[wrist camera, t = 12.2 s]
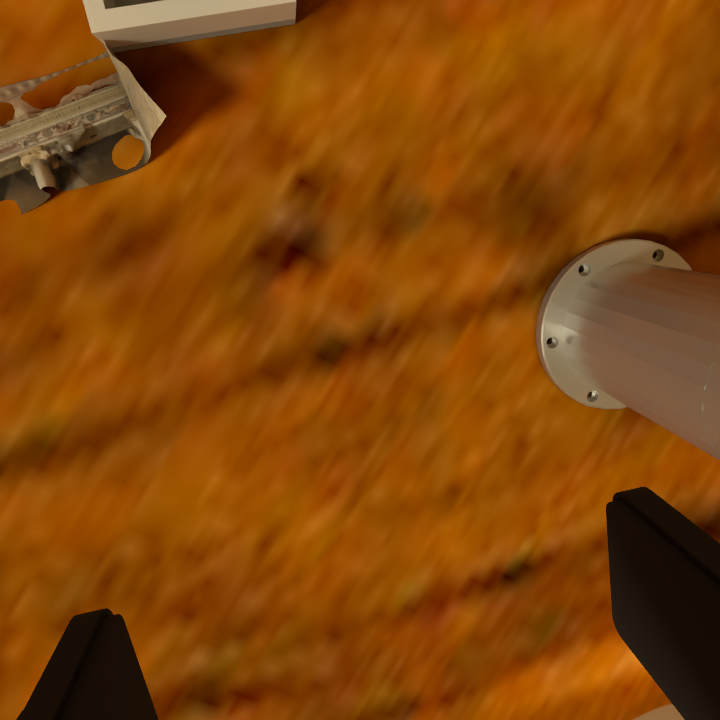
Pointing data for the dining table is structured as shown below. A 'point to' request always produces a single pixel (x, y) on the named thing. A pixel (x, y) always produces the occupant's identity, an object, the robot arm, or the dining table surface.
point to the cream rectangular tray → (181, 19)
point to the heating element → (72, 135)
